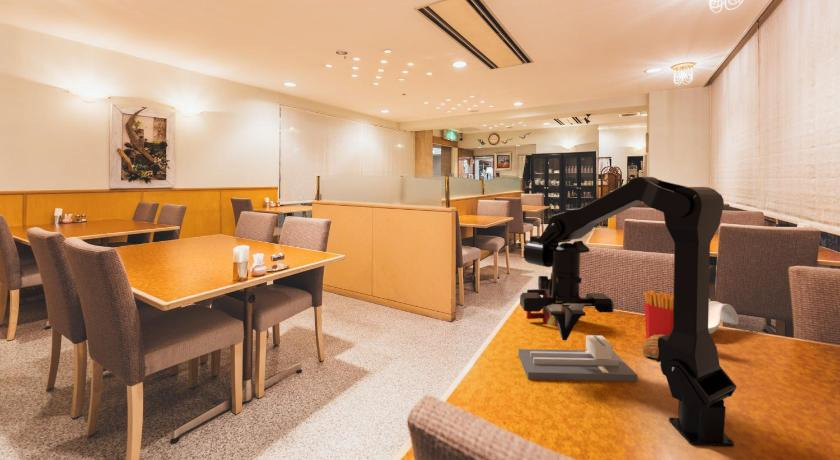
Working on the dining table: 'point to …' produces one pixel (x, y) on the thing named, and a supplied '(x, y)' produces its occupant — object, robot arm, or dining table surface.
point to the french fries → (658, 313)
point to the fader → (599, 347)
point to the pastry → (651, 346)
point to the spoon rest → (720, 315)
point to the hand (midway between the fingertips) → (564, 339)
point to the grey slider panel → (573, 366)
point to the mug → (545, 314)
